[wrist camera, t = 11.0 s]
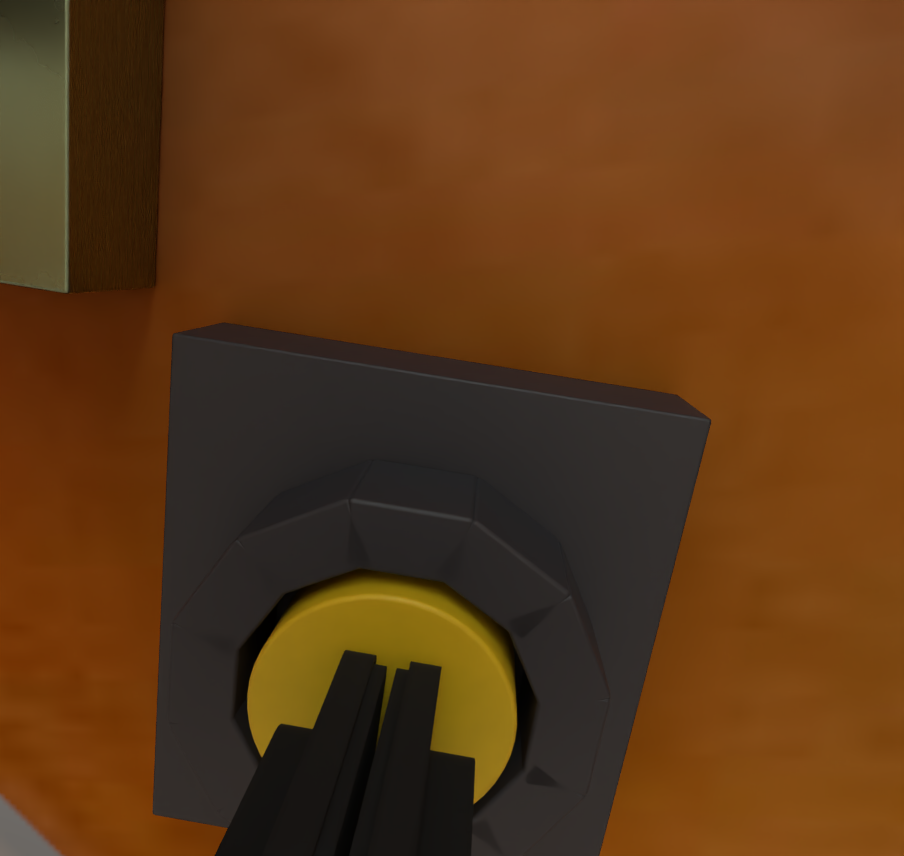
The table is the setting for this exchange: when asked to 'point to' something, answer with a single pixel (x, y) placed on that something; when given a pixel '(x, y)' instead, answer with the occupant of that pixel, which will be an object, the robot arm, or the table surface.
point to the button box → (418, 548)
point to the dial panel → (79, 143)
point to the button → (392, 661)
